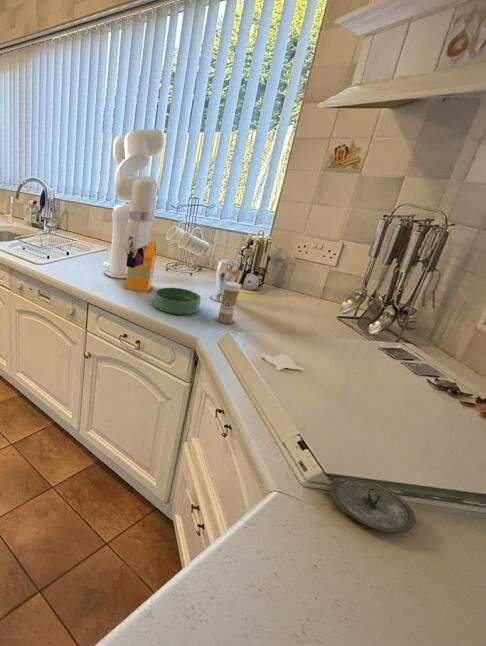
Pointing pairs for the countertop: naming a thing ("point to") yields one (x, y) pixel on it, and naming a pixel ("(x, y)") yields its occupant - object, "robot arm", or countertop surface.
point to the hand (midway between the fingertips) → (134, 265)
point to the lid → (373, 506)
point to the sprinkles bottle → (228, 302)
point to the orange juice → (142, 270)
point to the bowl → (176, 300)
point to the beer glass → (225, 276)
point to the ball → (138, 259)
